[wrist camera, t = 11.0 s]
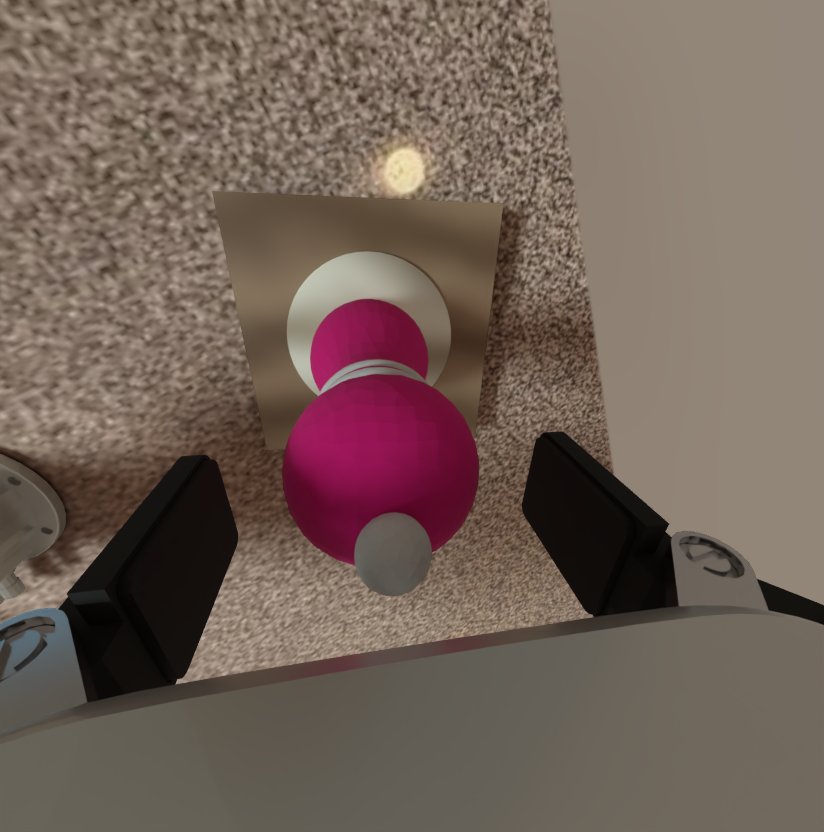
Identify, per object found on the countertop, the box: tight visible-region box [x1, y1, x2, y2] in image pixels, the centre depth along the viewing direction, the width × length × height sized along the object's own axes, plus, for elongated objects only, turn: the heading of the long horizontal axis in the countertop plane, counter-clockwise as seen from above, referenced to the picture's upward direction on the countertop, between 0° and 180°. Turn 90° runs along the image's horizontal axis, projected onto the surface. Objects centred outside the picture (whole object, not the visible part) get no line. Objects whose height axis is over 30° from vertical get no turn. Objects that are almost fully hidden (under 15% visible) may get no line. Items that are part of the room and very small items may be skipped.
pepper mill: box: [282, 299, 479, 596], centre depth 16 cm, size 7×7×20 cm
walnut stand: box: [212, 191, 503, 450], centre depth 26 cm, size 18×18×3 cm
